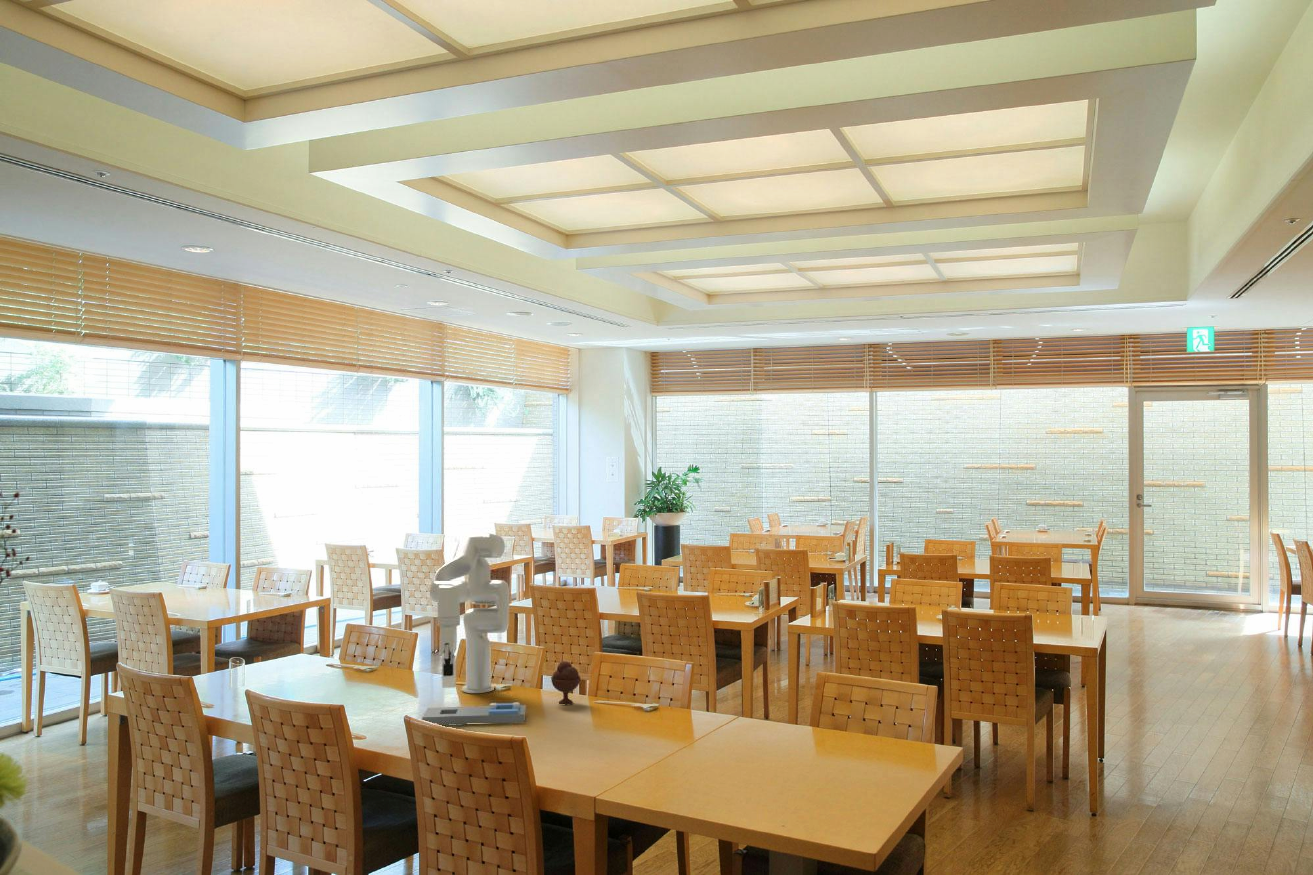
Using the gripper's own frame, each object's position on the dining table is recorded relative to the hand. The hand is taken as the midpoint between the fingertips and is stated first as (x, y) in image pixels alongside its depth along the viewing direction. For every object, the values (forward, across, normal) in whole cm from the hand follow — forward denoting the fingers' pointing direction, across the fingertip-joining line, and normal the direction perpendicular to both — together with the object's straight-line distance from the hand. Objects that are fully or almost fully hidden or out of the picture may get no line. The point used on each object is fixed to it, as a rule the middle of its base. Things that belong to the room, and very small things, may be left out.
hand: (449, 673), depth 319 cm
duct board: (+16, +1, +9) cm, 18 cm away
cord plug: (+4, 0, 0) cm, 4 cm away
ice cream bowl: (+17, -17, +40) cm, 47 cm away
